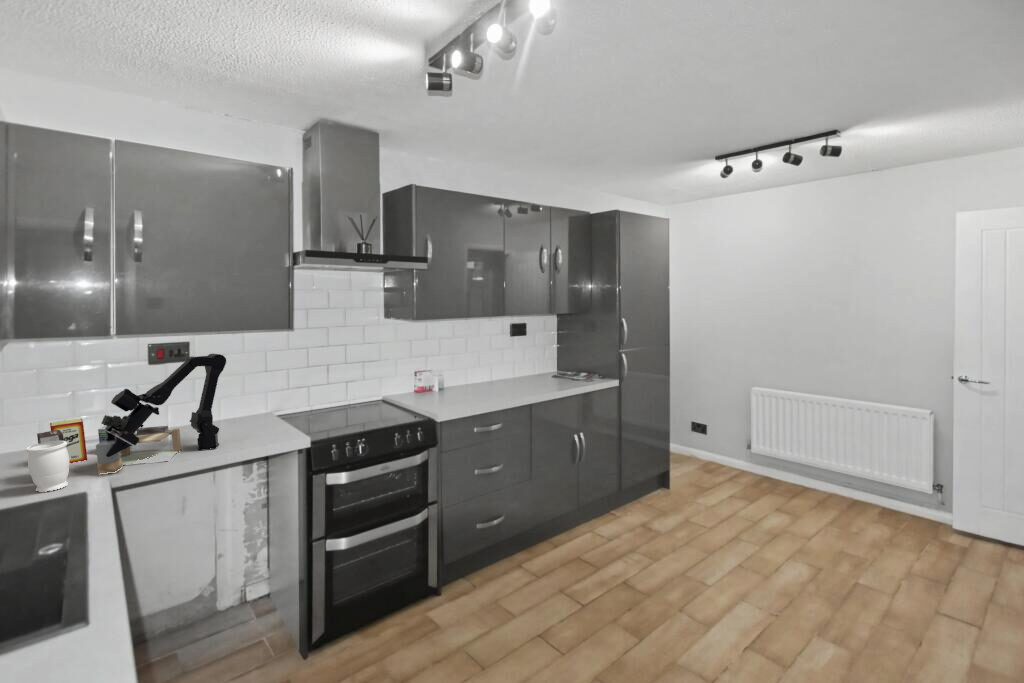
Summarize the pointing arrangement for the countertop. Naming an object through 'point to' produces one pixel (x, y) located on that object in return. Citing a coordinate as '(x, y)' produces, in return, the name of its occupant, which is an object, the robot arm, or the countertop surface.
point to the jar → (49, 465)
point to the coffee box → (50, 436)
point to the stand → (133, 457)
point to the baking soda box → (72, 438)
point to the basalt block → (103, 450)
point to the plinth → (109, 466)
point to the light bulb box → (103, 437)
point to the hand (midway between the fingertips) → (103, 454)
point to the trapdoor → (152, 434)
